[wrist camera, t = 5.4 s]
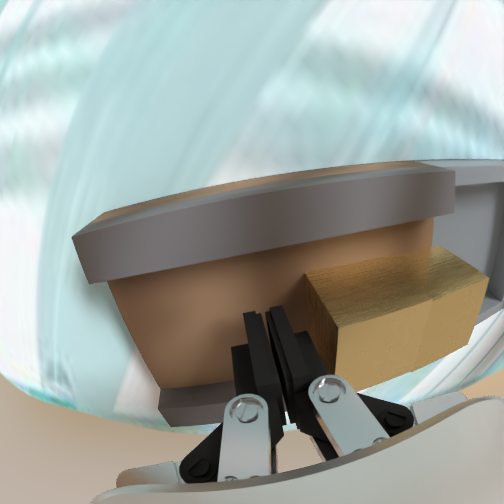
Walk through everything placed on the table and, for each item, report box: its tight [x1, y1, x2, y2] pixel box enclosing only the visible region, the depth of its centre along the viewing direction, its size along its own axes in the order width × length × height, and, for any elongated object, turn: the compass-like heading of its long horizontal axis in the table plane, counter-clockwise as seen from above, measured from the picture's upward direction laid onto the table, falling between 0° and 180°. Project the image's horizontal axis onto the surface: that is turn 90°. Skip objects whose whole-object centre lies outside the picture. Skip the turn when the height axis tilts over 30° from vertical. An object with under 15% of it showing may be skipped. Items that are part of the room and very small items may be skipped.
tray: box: [413, 159, 504, 325], centre depth 14 cm, size 11×12×2 cm
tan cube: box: [385, 245, 489, 372], centre depth 11 cm, size 4×4×4 cm
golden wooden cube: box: [305, 257, 432, 392], centre depth 11 cm, size 4×4×4 cm
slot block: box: [72, 161, 455, 427], centre depth 13 cm, size 16×12×4 cm
